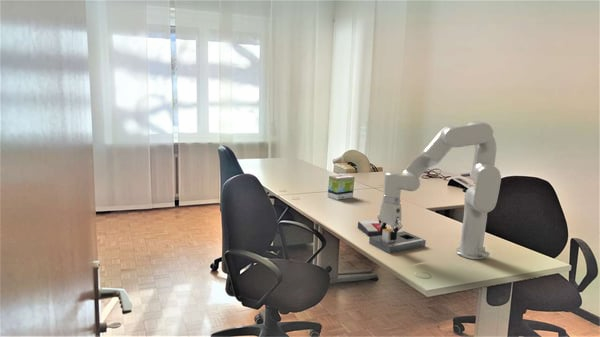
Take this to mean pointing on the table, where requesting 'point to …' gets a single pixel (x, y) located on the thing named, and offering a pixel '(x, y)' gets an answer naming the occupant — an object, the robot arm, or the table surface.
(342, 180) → the tea box
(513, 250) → the table surface
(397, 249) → the port panel
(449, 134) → the robot arm
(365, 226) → the calculator
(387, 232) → the plug
